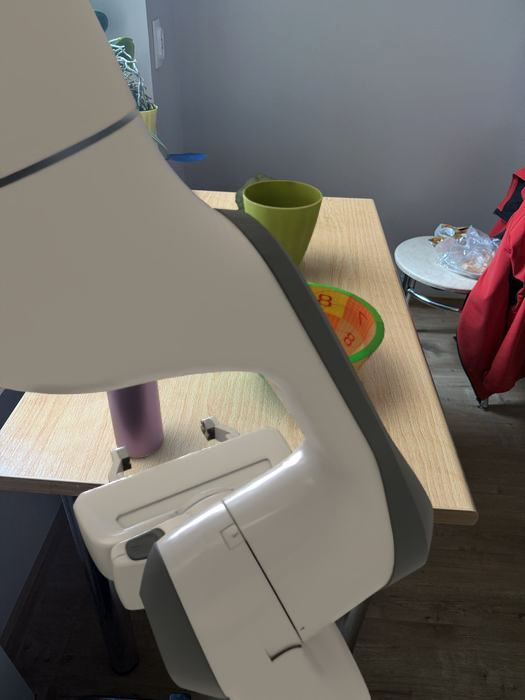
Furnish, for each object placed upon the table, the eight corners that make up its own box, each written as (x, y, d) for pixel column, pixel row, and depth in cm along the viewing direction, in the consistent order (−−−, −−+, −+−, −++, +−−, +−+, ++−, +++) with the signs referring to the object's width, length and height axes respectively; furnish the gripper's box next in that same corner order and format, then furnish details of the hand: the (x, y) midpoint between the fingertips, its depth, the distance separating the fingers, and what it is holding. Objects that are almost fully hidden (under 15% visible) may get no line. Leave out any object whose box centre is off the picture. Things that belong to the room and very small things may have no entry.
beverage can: (159, 461, 66) (147, 365, 57) (111, 459, 66) (92, 363, 57) (167, 427, 71) (157, 334, 62) (122, 425, 71) (106, 332, 62)
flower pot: (323, 286, 103) (331, 206, 94) (247, 290, 101) (248, 209, 92) (306, 252, 115) (312, 179, 106) (238, 255, 113) (238, 180, 104)
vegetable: (284, 200, 135) (304, 192, 120) (256, 241, 134) (273, 239, 120) (246, 170, 131) (261, 158, 117) (217, 213, 131) (229, 206, 116)
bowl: (243, 325, 91) (243, 273, 85) (374, 341, 88) (384, 289, 82) (210, 413, 73) (208, 354, 67) (374, 436, 70) (386, 377, 64)
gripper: (329, 473, 46) (255, 383, 56) (93, 574, 38) (55, 448, 48) (322, 518, 50) (254, 426, 60) (106, 619, 42) (68, 493, 51)
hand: (164, 436), depth 54 cm, fingers open, 8 cm apart
